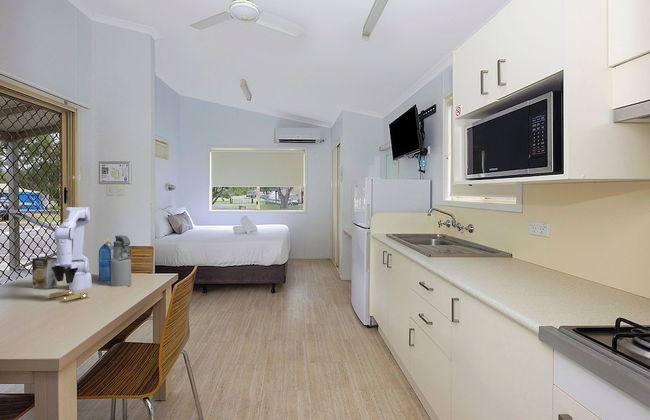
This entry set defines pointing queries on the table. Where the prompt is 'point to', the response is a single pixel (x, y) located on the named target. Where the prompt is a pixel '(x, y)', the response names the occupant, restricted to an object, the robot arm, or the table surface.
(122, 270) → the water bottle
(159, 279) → the table surface
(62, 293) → the lever
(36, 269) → the coffee box
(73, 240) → the robot arm
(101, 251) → the blue plastic bottle
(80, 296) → the lever
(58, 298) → the base
